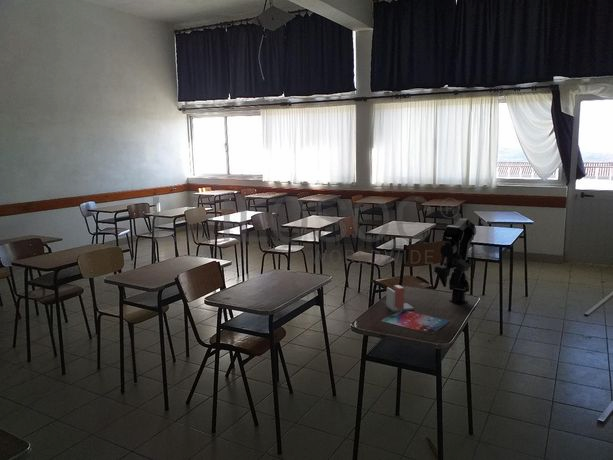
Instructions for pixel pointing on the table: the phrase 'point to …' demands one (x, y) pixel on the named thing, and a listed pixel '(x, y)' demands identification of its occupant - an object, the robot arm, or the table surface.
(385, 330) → the table surface
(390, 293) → the bookstand
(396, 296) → the book
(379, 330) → the table surface
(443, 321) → the tablet
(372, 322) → the table surface
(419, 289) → the table surface
